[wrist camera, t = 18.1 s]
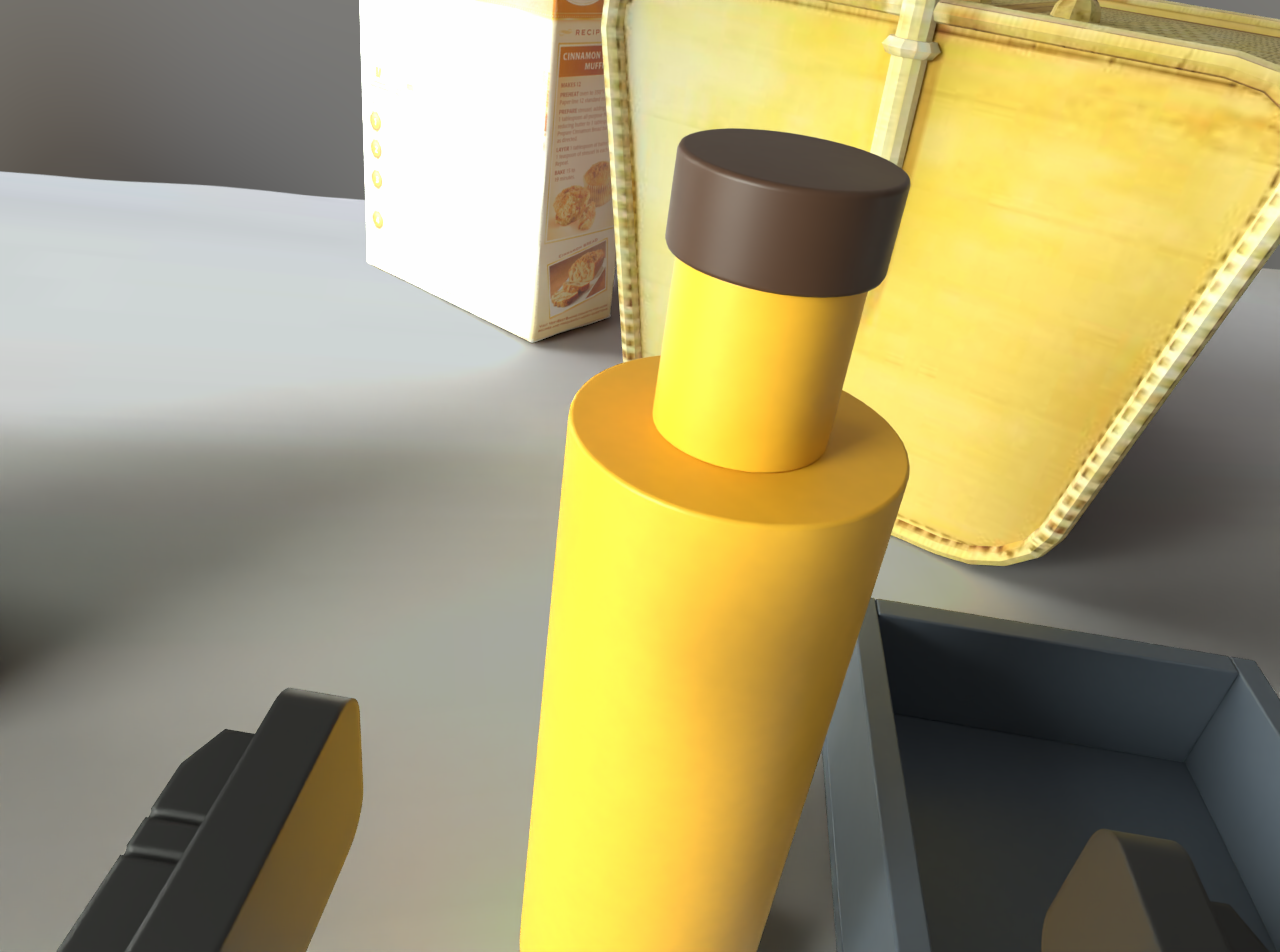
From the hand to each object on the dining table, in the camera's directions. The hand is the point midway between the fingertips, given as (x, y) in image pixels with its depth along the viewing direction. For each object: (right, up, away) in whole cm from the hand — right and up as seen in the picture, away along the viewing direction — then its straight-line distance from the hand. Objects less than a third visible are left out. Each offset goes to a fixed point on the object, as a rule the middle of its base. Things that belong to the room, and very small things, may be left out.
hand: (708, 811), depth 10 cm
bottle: (-1, -8, +14) cm, 16 cm away
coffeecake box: (-10, +15, +48) cm, 52 cm away
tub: (+11, -8, +16) cm, 21 cm away
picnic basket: (+13, +7, +42) cm, 44 cm away
